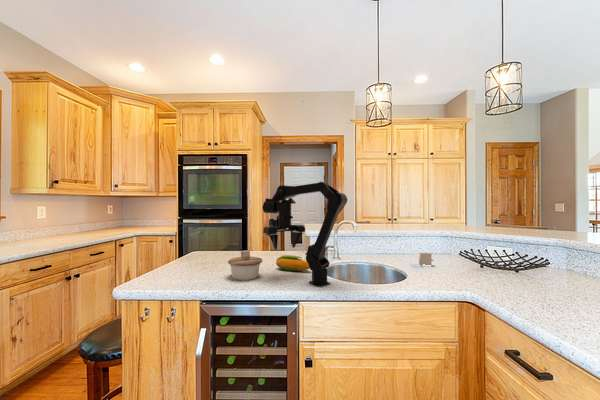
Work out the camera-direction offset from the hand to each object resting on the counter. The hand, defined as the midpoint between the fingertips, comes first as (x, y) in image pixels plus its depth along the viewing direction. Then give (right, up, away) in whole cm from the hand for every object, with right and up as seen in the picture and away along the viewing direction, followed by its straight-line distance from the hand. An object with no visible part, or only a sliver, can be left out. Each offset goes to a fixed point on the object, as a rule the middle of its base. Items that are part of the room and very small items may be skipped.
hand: (284, 248), depth 120 cm
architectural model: (+73, -14, +23) cm, 78 cm away
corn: (+4, -13, +13) cm, 19 cm away
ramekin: (-18, -13, +1) cm, 22 cm away
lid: (-18, -6, +1) cm, 19 cm away
